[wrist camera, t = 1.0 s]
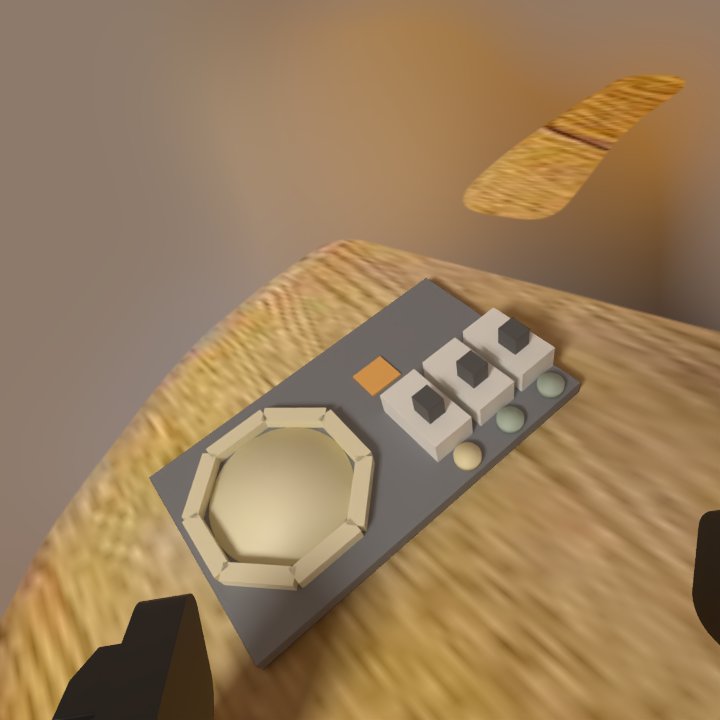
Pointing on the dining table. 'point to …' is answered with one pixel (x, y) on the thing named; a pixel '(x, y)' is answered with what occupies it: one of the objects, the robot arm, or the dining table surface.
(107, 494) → the dining table surface
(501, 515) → the dining table surface
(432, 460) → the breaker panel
